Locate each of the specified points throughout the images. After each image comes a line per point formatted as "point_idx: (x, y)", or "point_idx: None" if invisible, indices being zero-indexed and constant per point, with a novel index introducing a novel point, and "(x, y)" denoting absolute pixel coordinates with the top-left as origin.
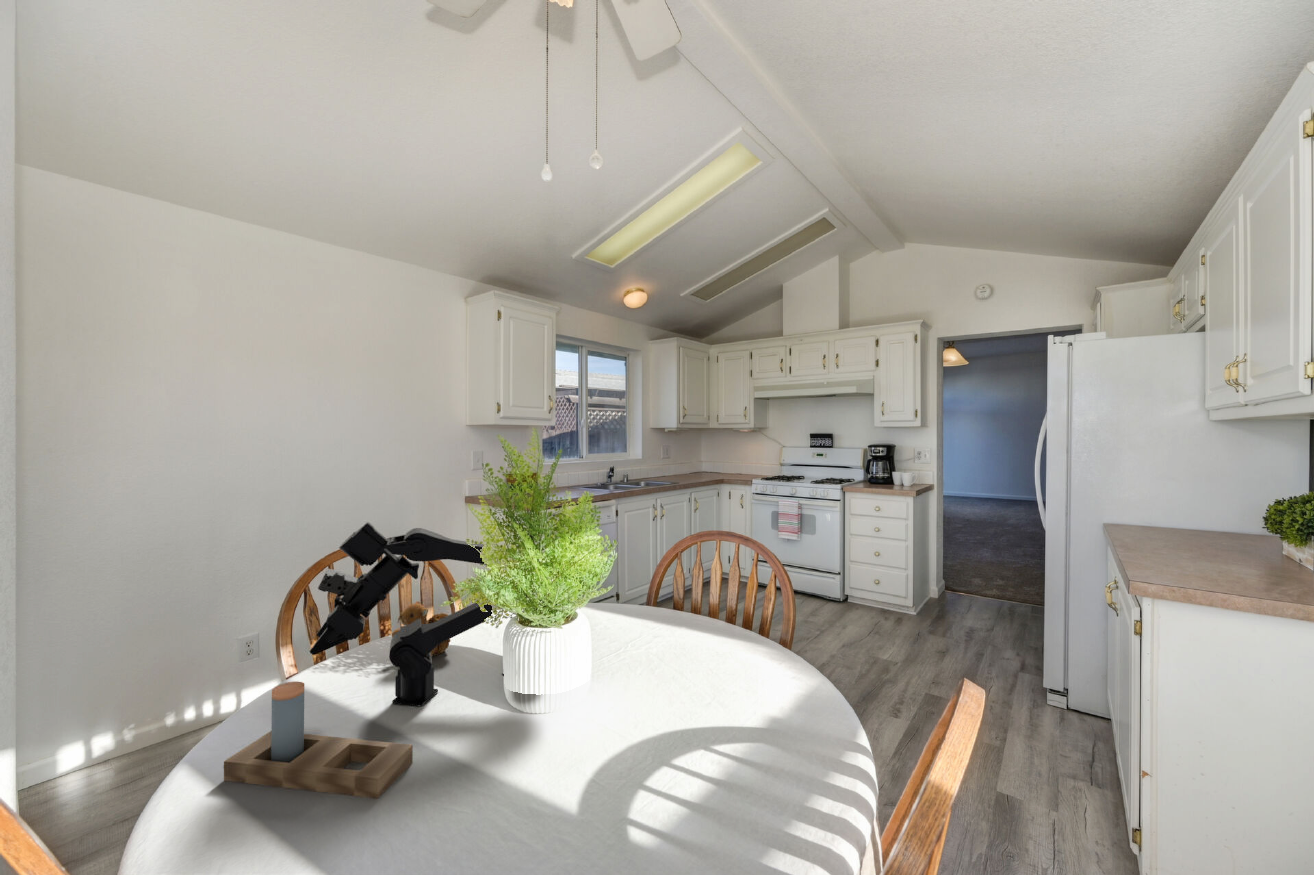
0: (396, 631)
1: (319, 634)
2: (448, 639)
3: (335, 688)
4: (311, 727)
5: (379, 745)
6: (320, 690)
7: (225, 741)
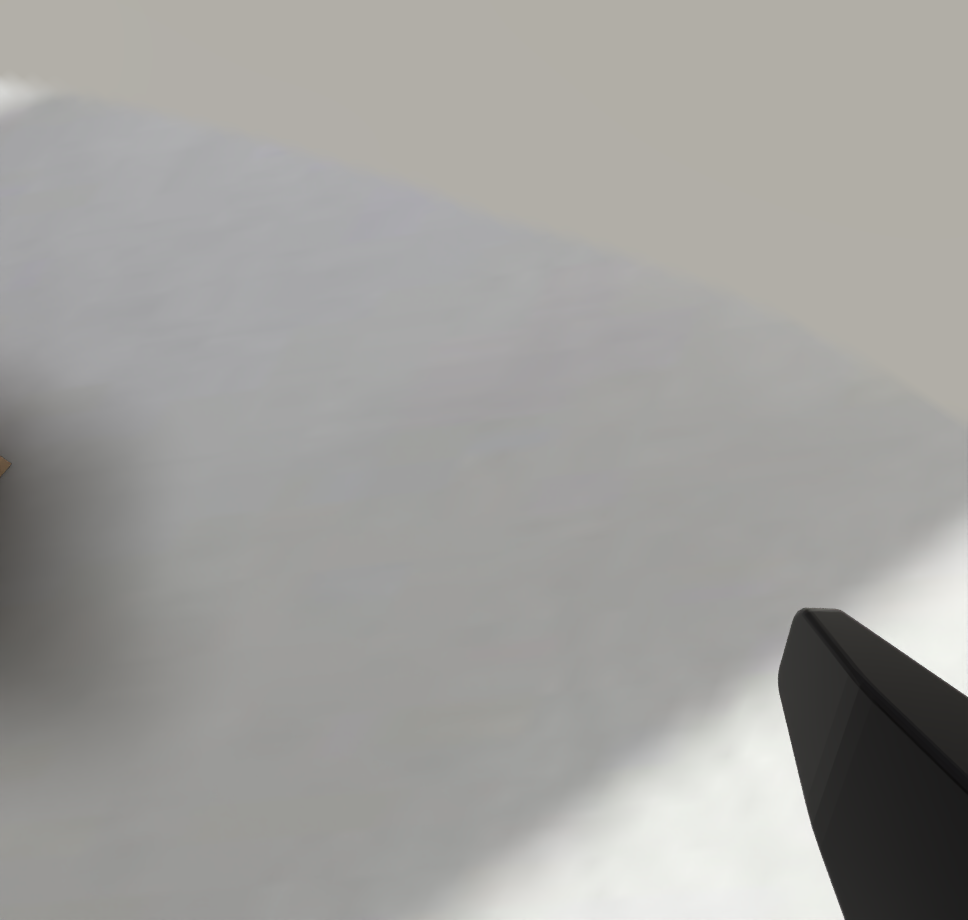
0: None
1: (801, 654)
2: None
3: None
4: (193, 682)
5: None
6: None
7: (261, 206)
